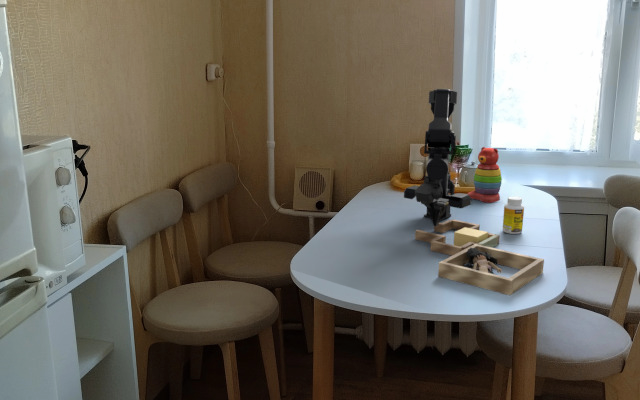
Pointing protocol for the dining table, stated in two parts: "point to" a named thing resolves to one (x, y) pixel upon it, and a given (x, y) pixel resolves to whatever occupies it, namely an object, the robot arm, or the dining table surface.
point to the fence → (457, 272)
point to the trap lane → (442, 247)
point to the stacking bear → (487, 177)
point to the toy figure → (482, 261)
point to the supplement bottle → (513, 215)
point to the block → (469, 236)
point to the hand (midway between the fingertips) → (435, 225)
